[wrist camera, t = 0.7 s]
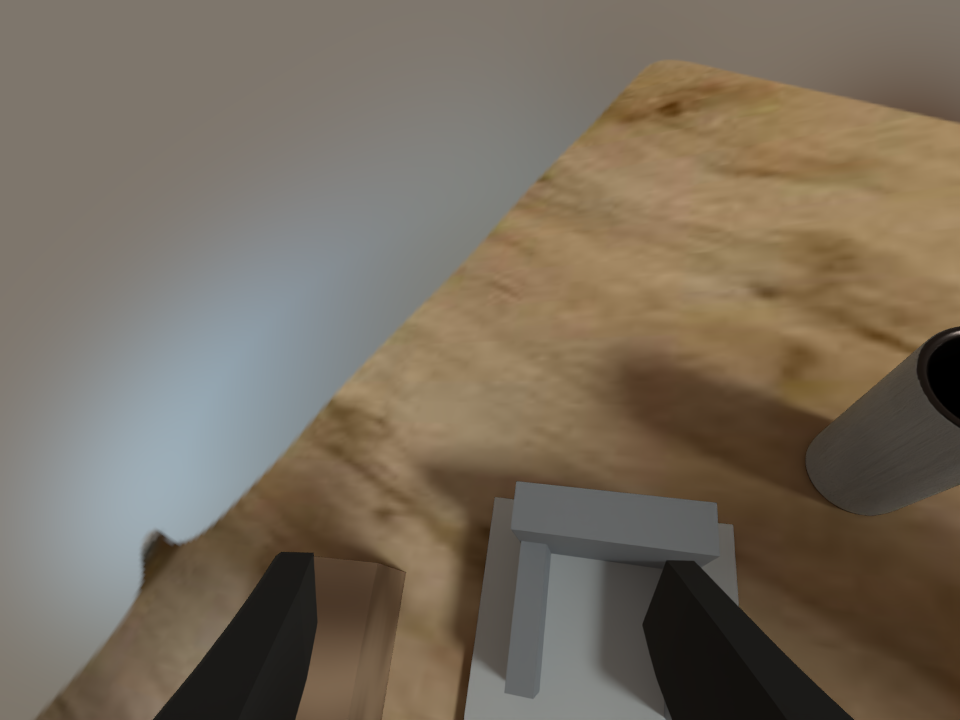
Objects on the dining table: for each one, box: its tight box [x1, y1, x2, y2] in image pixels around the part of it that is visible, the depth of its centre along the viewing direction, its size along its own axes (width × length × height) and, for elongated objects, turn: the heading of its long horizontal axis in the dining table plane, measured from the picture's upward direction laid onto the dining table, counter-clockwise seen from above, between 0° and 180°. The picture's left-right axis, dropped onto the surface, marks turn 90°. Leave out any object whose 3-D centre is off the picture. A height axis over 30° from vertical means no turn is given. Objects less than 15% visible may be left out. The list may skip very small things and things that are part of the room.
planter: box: [806, 326, 960, 515], centre depth 21 cm, size 4×4×10 cm
